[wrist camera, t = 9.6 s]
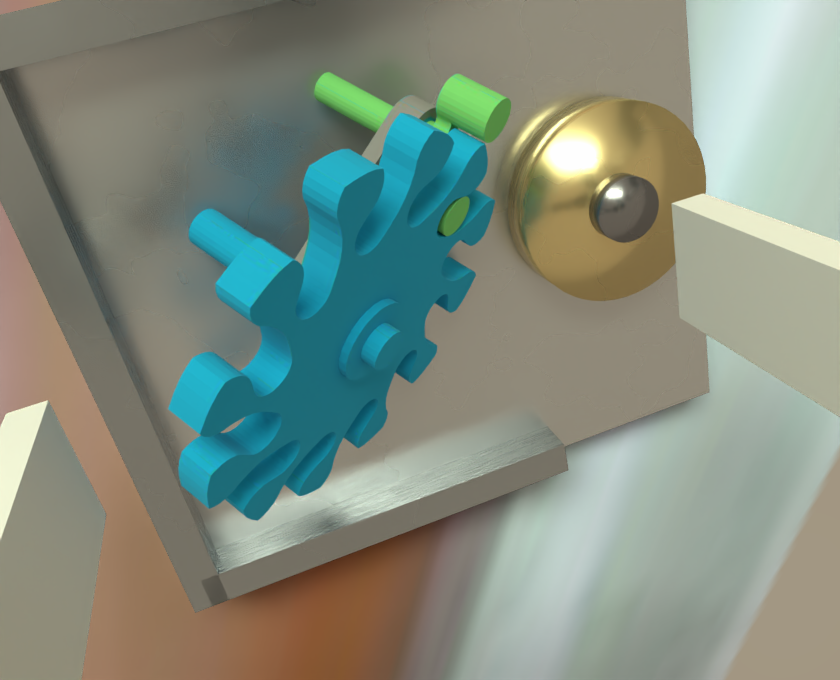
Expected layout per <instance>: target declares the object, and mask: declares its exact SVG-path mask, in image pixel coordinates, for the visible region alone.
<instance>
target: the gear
mask: <svg viewBox="0 0 840 680" xmlns="http://www.w3.org/2000/svg"><path fill="white" fill-rule="evenodd" d="M314 95H315V98H316V100H318V101H319V102H321V103H323V104H325V105H326V106H328V107H330V108H332V109H334V110H335V111H337V112H339V113H341V114H343V115H344V116H346V117H348V118H350V119H352V120H353V121H355V122H357V123H359V124H360V125H362V126H364V127H366V128H368V129H369V130H371V131H373V132H375V133H376V134H375V135H374V137H373V138H372V140H371V142H370V143H369V145H368V146H367V148H366V149H365V151H364V152H363V154H362V156H361V155H359V154H357V153H356V152H354V151H352V150H350V149H341V150H337V151H334V152H332V153H330V154H328V155H326V156H324V157H322V158H321V159H319V160H318V161H316V162H314V163H313V164H311V165H310V166H309V167H308V169H307V172H306V174H305V177H304V181H303V187H302V194H303V199H304V201H305V204H306V206H307V210H308V215H309V235H308V239H307V241H306V242H305V244H304V246H303V247H302V249H301V250H300V252H299V253H298V255H297V256H296V258H295V259H293V258H292V257H290V256H289V255H287V254H286V253H284V252H283V251H281V250H280V249H278V248H277V247H275V246H273V245H272V244H270V243H269V242H267V241H266V240H264V239H263V238H259V237H256V236H255V235H253V234H252V233H250V232H249V231H247V230H246V229H244V228H242V227H241V226H239V225H238V224H236V223H235V222H233V221H232V220H230V219H229V218H227V217H226V216H224V215H223V214H221V213H220V212H218V211H217V210H215V209H206V210H204V211H202V212H200V213H199V214H198V215H197V216H196V217H195V219H194V220H193V221H192V223H191V225H190V228H189V234H188V236H189V240H190V242H191V243H192V244H194V245H195V246H197V247H198V248H200V249H201V250H202V251H204V252H205V253H207V254H208V255H210V256H211V257H213V258H214V259H216V260H217V261H218V262H220V263H221V264H223V265H224V266H226V267H227V269H226V270H225V271H224V273H223V274H222V275H221V277H220V278H219V279H218V281H217V282H216V283H215V291H216V294H217V297H218V298H219V299H220V300H221V301H222V302H224V303H225V304H226V305H228V306H229V307H231V308H232V309H233V310H235V311H236V312H238V313H239V314H241V315H242V316H243V317H245V318H246V319H248V320H249V321H250V322H252V323H253V324H255V325H257V326H259V327H260V330H261V334H262V341H261V345H260V348H259V350H258V352H257V354H256V355H255V357H254V358H253V360H252V361H251V362H250V363H249V364H248V365H247V366H246V367H245V368H243V369H242V370H241V371H239V370H237V369H236V368H235V367H233V366H232V365H230V364H229V363H228V362H226V361H225V360H224V359H222V358H221V357H220V356H218V355H217V354H216V353H214V352H204V353H201V354H198V355H196V356H195V357H193V358H192V359H191V361H190V362H189V364H188V365H187V367H186V368H185V370H184V372H183V374H182V375H181V377H180V379H179V381H178V384H177V386H176V388H175V391H174V393H173V396H172V399H171V402H170V405H169V408H168V409H169V410H170V411H171V412H172V413H174V414H175V415H176V416H177V417H179V418H180V419H181V420H182V421H184V422H185V423H186V424H187V425H189V426H190V427H191V428H192V429H194V430H195V431H196V432H197V433H199V434H200V435H201V436H199V437H197V438H196V439H194V440H193V441H192V442H191V443H190V444H188V445H187V446H186V447H185V449H184V450H183V451H182V452H181V456H180V459H179V467H178V470H179V478H180V483H181V486H182V487H184V488H185V489H186V490H187V491H188V492H190V493H191V494H192V495H193V496H194V497H195V498H197V499H198V500H199V501H200V502H201V503H203V504H204V505H205V506H206V507H207V508H209V509H210V508H213V507H215V506H217V505H218V504H220V503H221V502H222V501H224V500H226V501H227V502H229V503H230V504H231V505H232V506H233V507H235V508H236V509H237V510H238V511H239V512H241V513H242V514H243V515H244V516H245V517H247V518H248V519H251V520H256V521H258V520H259V519H260V518H261V517H263V516H264V515H265V513H266V512H267V511H268V510H269V509H270V508H271V506H272V505H273V503H274V502H275V500H276V499H277V497H278V495H279V493H280V491H281V489H282V488H283V486H284V485H285V486H287V487H288V488H289V489H290V490H292V491H293V492H294V493H295V494H297V495H298V496H304V495H307V494H309V493H311V492H313V491H315V490H317V489H319V488H320V487H321V486H322V485H323V484H324V482H325V481H326V479H327V478H328V476H329V474H330V472H331V470H332V467H333V462H334V458H335V455H336V453H337V450H338V448H339V446H340V444H341V442H342V440H343V438H345V439H346V440H347V441H349V442H350V443H352V444H353V445H354V446H356V447H357V448H360V447H362V446H363V445H364V444H366V443H367V442H368V441H369V440H370V439H372V438H373V437H374V436H375V435H376V434H377V433H378V432H379V431H380V430H381V429H382V428H383V426H384V424H385V422H386V419H387V416H388V411H387V409H386V397H387V393H388V390H389V387H390V384H391V382H392V379H393V377H394V374H395V373H397V374H398V375H399V376H401V377H402V378H404V379H405V380H407V381H408V382H410V383H414V382H415V381H416V380H417V379H418V378H419V376H420V375H421V374H422V373H423V372H424V370H425V369H426V368H427V366H428V365H429V364H430V362H431V361H432V359H433V358H434V356H435V355H436V353H437V345H436V344H434V343H433V342H431V341H430V340H428V339H427V338H425V320H426V317H427V315H428V313H429V311H430V309H431V307H432V306H433V304H434V303H435V304H437V305H439V306H440V307H442V308H443V309H445V310H446V311H448V312H450V313H452V312H454V311H456V310H457V309H458V307H459V306H460V304H461V303H462V301H463V299H464V298H465V296H466V294H467V292H468V290H469V288H470V286H471V284H472V282H473V280H474V278H475V276H476V273H475V272H474V271H472V270H471V269H469V268H467V267H466V266H464V265H463V264H461V263H459V262H458V261H456V260H454V259H453V258H451V257H446V256H447V254H448V253H449V251H450V250H451V249H452V247H453V246H454V245H455V244H456V243H457V242H459V241H460V240H461V241H462V242H464V243H466V244H467V245H469V246H473V245H475V244H476V243H478V242H479V241H480V240H481V239H482V237H483V236H484V235H485V232H486V230H487V228H488V225H489V222H490V219H491V216H492V213H493V209H494V205H495V200H494V199H492V198H490V197H488V196H487V195H485V194H483V193H481V192H480V191H478V190H476V188H477V187H478V186H479V185H480V183H481V182H482V180H483V179H484V177H485V175H486V173H487V167H488V156H487V150H486V145H485V143H483V142H481V141H479V140H477V139H475V138H473V137H471V136H470V135H468V134H466V133H464V132H462V131H460V130H458V129H459V128H460V129H462V130H463V131H465V132H467V133H469V134H471V135H473V136H475V137H477V138H479V139H480V140H482V141H484V142H486V143H491V142H492V141H494V140H495V139H496V138H497V137H498V136H499V134H500V133H501V132H502V130H503V128H504V127H505V125H506V123H507V120H508V118H509V115H510V111H511V101H510V99H509V98H507V97H505V96H503V95H501V94H499V93H497V92H495V91H493V90H491V89H489V88H487V87H485V86H483V85H481V84H479V83H477V82H475V81H473V80H471V79H469V78H467V77H465V76H463V75H461V74H455V75H453V76H451V77H450V78H449V79H448V80H447V82H446V83H445V84H444V86H443V87H442V89H441V91H440V94H439V96H438V99H437V103H436V106H434V105H432V104H430V103H428V102H426V101H425V100H423V99H421V98H419V97H417V96H415V95H408V96H406V97H404V98H402V99H401V100H400V101H399V102H397V103H396V104H395V106H392V105H390V104H388V103H386V102H384V101H382V100H381V99H379V98H377V97H375V96H373V95H371V94H369V93H368V92H366V91H364V90H362V89H360V88H358V87H356V86H355V85H353V84H351V83H349V82H347V81H345V80H343V79H342V78H340V77H338V76H336V75H334V74H332V73H330V72H326V73H324V74H323V75H322V76H321V77H320V78H319V79H318V81H317V83H316V86H315V90H314ZM244 417H245V418H244ZM242 418H244V420H243V421H242V422H241V423H240V424H239V425H238V426H237V427H235V428H234V429H232V430H231V431H229V432H226V433H220V432H222V431H223V430H225V429H226V428H228V427H229V426H230V425H232V424H233V423H235V422H237V421H239V420H240V419H242Z"/></svg>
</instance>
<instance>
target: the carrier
mask: <svg viewBox="0 0 840 680" xmlns="http://www.w3.org/2000/svg"><path fill="white" fill-rule="evenodd" d="M326 72H330V73H332V74H334V75H336V76H338V77H340V78H342V79H343V80H345V81H347V82H349V83H351V84H353V85H355V86H356V87H358V88H360V89H362V90H364V91H366V92H368V93H369V94H371V95H373V96H375V97H377V98H379V99H381V100H382V101H384V102H386V103H388V104H390V105H392V106H395V104H396V103H397V102H399V101H400V100H401V99H402V98H404V97H406V96H408V95H415V96H417V97H419V98H421V99H423V100H425V101H426V102H428V103H430V104H432V105H434V106H436V103H437V99H438V96H439V94H440V91H441V89H442V87H443V86H444V84H445V83H446V82H447V80H448V79H449V78H450V77H451V76H453V75H455V74H461V75H463V76H465V77H467V78H469V79H471V80H473V81H475V82H477V83H479V84H481V85H483V86H485V87H487V88H489V89H491V90H493V91H495V92H497V93H499V94H501V95H503V96H505V97H507V98H509V99H510V101H511V111H510V115H509V118H508V120H507V123H506V125H505V127H504V128H503V130H502V132H501V133H500V134H499V136H498V137H497V138H496V139H495V140H494V141H492V142H491V143H486V142H484V141H482V140H480V139H479V138H477V137H475V136H473V135H471V134H469V133H467V132H465V131H463V130H462V129H460V128H459V129H458V130H460V131H462V132H464V133H466V134H468V135H470V136H471V137H473V138H475V139H477V140H479V141H481V142H483V143H485V145H486V150H487V156H488V167H487V173H486V175H485V177H484V179H483V180H482V182H481V183H480V185H479V186H478V187H477V188H476V190H478V191H480V192H481V193H483V194H485V195H487V196H488V197H490V198H492V199H494V200H495V205H494V209H493V213H492V216H491V219H490V222H489V225H488V228H487V230H486V232H485V235H484V236H483V237H482V239H481V240H480V241H479V242H478V243H476V244H475V245H473V246H469V245H467V244H466V243H464V242H462V241H461V240H460V241H459V242H457V243H456V244H455V245H454V246H453V247H452V249H451V250H450V251H449V253H448V254H447V256H446V257H451V258H453V259H454V260H456V261H458V262H459V263H461V264H463V265H464V266H466V267H467V268H469V269H471V270H472V271H474V272H475V273H476V276H475V278H474V280H473V282H472V284H471V286H470V288H469V290H468V292H467V294H466V296H465V298H464V299H463V301H462V303H461V304H460V306H459V307H458V309H457V310H456V311H454V312H452V313H450V312H448V311H446V310H445V309H443V308H442V307H440V306H439V305H437V304H435V303H434V304H433V306H432V307H431V309H430V311H429V313H428V315H427V317H426V320H425V338H427V339H428V340H430V341H431V342H433V343H434V344H436V345H437V353H436V355H435V356H434V358H433V359H432V361H431V362H430V364H429V365H428V366H427V368H426V369H425V370H424V372H423V373H422V374H421V375H420V376H419V378H418V379H417V380H416V381H415V382H414V383H410V382H408V381H407V380H405V379H404V378H402V377H401V376H399V375H398V374H397V373H395V374H394V377H393V379H392V382H391V384H390V387H389V390H388V393H387V397H386V409H387V411H388V416H387V419H386V422H385V424H384V426H383V428H382V429H381V430H380V431H379V432H378V433H377V434H376V435H375V436H374V437H373V438H372V439H370V440H369V441H368V442H367V443H366V444H364V445H363V446H362V447H360V448H357V447H356V446H354V445H353V444H352V443H350V442H349V441H347V440H346V439H345V438H343V440H342V442H341V444H340V446H339V448H338V450H337V453H336V455H335V458H334V462H333V467H332V470H331V472H330V474H329V476H328V478H327V479H326V481H325V482H324V484H323V485H322V486H321V487H320V488H319V489H317V490H315V491H313V492H311V493H309V494H307V495H304V496H298V495H297V494H295V493H294V492H293V491H292V490H290V489H289V488H288V487H287V486H285V485H284V486H283V488H282V489H281V491H280V493H279V495H278V497H277V499H276V500H275V502H274V503H273V505H272V506H271V508H270V509H269V510H268V511H267V512H266V513H265V515H264V516H263V517H261V518H260V519H259V520H258V521H256V520H251V519H248V518H247V517H245V516H244V515H243V514H242V513H241V512H239V511H238V510H237V509H236V508H235V507H233V506H232V505H231V504H230V503H229V502H227V501H226V500H224V501H222V502H221V503H220V504H218V505H217V506H215V507H213V508H210V509H209V508H207V507H206V506H205V505H204V504H203V503H201V502H200V501H199V500H198V499H197V498H195V497H194V496H193V495H192V494H191V493H190V492H188V491H187V490H186V489H185V488H184V487H182V486H181V483H180V478H179V470H178V467H179V459H180V456H181V452H182V451H183V450H184V449H185V447H186V446H187V445H188V444H190V443H191V442H192V441H193V440H194V439H196V438H197V437H199V436H201V435H200V434H199V433H197V432H196V431H195V430H194V429H192V428H191V427H190V426H189V425H187V424H186V423H185V422H184V421H182V420H181V419H180V418H179V417H177V416H176V415H175V414H174V413H172V412H171V411H170V410H169V409H168V408H169V405H170V402H171V399H172V396H173V393H174V391H175V388H176V386H177V384H178V381H179V379H180V377H181V375H182V374H183V372H184V370H185V368H186V367H187V365H188V364H189V362H190V361H191V359H192V358H193V357H195V356H196V355H198V354H201V353H204V352H214V353H216V354H217V355H218V356H220V357H221V358H222V359H224V360H225V361H226V362H228V363H229V364H230V365H232V366H233V367H235V368H236V369H237V370H239V371H241V370H242V369H243V368H245V367H246V366H247V365H248V364H249V363H250V362H251V361H252V360H253V358H254V357H255V355H256V354H257V352H258V350H259V348H260V345H261V341H262V334H261V330H260V327H259V326H257V325H255V324H253V323H252V322H250V321H249V320H248V319H246V318H245V317H243V316H242V315H241V314H239V313H238V312H236V311H235V310H233V309H232V308H231V307H229V306H228V305H226V304H225V303H224V302H222V301H221V300H220V299H219V298H218V297H217V294H216V291H215V283H216V282H217V281H218V279H219V278H220V277H221V275H222V274H223V273H224V271H225V270H226V269H227V267H226V266H224V265H223V264H221V263H220V262H218V261H217V260H216V259H214V258H213V257H211V256H210V255H208V254H207V253H205V252H204V251H202V250H201V249H200V248H198V247H197V246H195V245H194V244H192V243H191V242H190V240H189V236H188V234H189V228H190V225H191V223H192V221H193V220H194V219H195V217H196V216H197V215H198V214H199V213H200V212H202V211H204V210H206V209H215V210H217V211H218V212H220V213H221V214H223V215H224V216H226V217H227V218H229V219H230V220H232V221H233V222H235V223H236V224H238V225H239V226H241V227H242V228H244V229H246V230H247V231H249V232H250V233H252V234H253V235H255V236H256V237H259V238H263V239H264V240H266V241H267V242H269V243H270V244H272V245H273V246H275V247H277V248H278V249H280V250H281V251H283V252H284V253H286V254H287V255H289V256H290V257H292V258H293V259H295V258H296V256H297V255H298V253H299V252H300V250H301V249H302V247H303V246H304V244H305V242H306V241H307V239H308V235H309V215H308V210H307V206H306V204H305V201H304V199H303V194H302V187H303V181H304V177H305V174H306V172H307V169H308V167H309V166H310V165H311V164H313V163H314V162H316V161H318V160H319V159H321V158H322V157H324V156H326V155H328V154H330V153H332V152H334V151H337V150H341V149H350V150H352V151H354V152H356V153H357V154H359V155H361V156H362V154H363V152H364V151H365V149H366V148H367V146H368V145H369V143H370V142H371V140H372V138H373V137H374V135H375V134H376V133H375V132H373V131H371V130H369V129H368V128H366V127H364V126H362V125H360V124H359V123H357V122H355V121H353V120H352V119H350V118H348V117H346V116H344V115H343V114H341V113H339V112H337V111H335V110H334V109H332V108H330V107H328V106H326V105H325V104H323V103H321V102H319V101H318V100H316V98H315V95H314V90H315V86H316V83H317V81H318V79H319V78H320V77H321V76H322V75H323V74H324V73H326ZM705 192H706V175H705V166H704V162H703V158H702V153H701V151H700V148H699V146H698V143H697V141H696V139H695V138H694V131H693V115H692V99H691V82H690V66H689V49H688V33H687V17H686V0H61V1H57V2H53V3H49V4H44V5H40V6H36V7H32V8H27V9H23V10H19V11H15V12H10V13H6V14H2V15H0V201H1V203H2V206H3V208H4V210H5V212H6V214H7V216H8V218H9V220H10V222H11V225H12V227H13V229H14V231H15V233H16V235H17V237H18V239H19V241H20V244H21V246H22V248H23V250H24V252H25V254H26V256H27V258H28V260H29V263H30V265H31V267H32V269H33V271H34V273H35V275H36V277H37V279H38V282H39V284H40V286H41V288H42V290H43V292H44V294H45V296H46V298H47V301H48V303H49V305H50V307H51V309H52V311H53V313H54V315H55V317H56V320H57V322H58V324H59V326H60V328H61V330H62V332H63V334H64V336H65V339H66V341H67V343H68V345H69V347H70V349H71V351H72V353H73V355H74V358H75V360H76V362H77V364H78V366H79V368H80V370H81V372H82V374H83V377H84V379H85V381H86V383H87V385H88V387H89V389H90V391H91V393H92V396H93V398H94V400H95V402H96V404H97V406H98V408H99V410H100V412H101V415H102V417H103V419H104V421H105V423H106V425H107V427H108V429H109V431H110V434H111V436H112V438H113V440H114V442H115V444H116V446H117V448H118V450H119V453H120V455H121V457H122V459H123V461H124V463H125V465H126V467H127V469H128V472H129V474H130V476H131V478H132V480H133V482H134V484H135V486H136V488H137V491H138V493H139V495H140V497H141V499H142V501H143V503H144V505H145V507H146V510H147V512H148V514H149V516H150V518H151V520H152V522H153V524H154V526H155V529H156V531H157V533H158V535H159V537H160V539H161V541H162V543H163V545H164V548H165V550H166V552H167V554H168V556H169V558H170V560H171V562H172V564H173V567H174V569H175V571H176V573H177V575H178V577H179V579H180V581H181V583H182V586H183V588H184V590H185V592H186V594H187V596H188V598H189V600H190V602H191V605H192V607H193V609H194V611H195V613H196V612H199V611H201V610H204V609H206V608H209V607H212V606H214V605H217V604H220V603H222V602H225V601H227V600H230V599H233V598H235V597H238V596H240V595H243V594H246V593H248V592H251V591H254V590H256V589H259V588H261V587H264V586H267V585H269V584H272V583H274V582H277V581H280V580H282V579H285V578H288V577H290V576H293V575H295V574H298V573H301V572H303V571H306V570H308V569H311V568H314V567H316V566H319V565H322V564H324V563H327V562H329V561H332V560H335V559H337V558H340V557H342V556H345V555H348V554H350V553H353V552H356V551H358V550H361V549H363V548H366V547H369V546H371V545H374V544H376V543H379V542H382V541H384V540H387V539H390V538H392V537H395V536H397V535H400V534H403V533H405V532H408V531H410V530H413V529H416V528H418V527H421V526H424V525H426V524H429V523H431V522H434V521H437V520H439V519H442V518H444V517H447V516H450V515H452V514H455V513H458V512H460V511H463V510H465V509H468V508H471V507H473V506H476V505H479V504H481V503H484V502H486V501H489V500H492V499H494V498H497V497H499V496H502V495H505V494H507V493H510V492H513V491H515V490H518V489H520V488H523V487H526V486H528V485H531V484H533V483H536V482H539V481H541V480H544V479H547V478H549V477H552V476H554V475H557V474H560V473H562V472H565V471H567V470H568V465H567V459H566V453H565V446H567V445H570V444H573V443H575V442H578V441H581V440H583V439H586V438H589V437H591V436H594V435H597V434H599V433H602V432H605V431H607V430H610V429H613V428H615V427H618V426H620V425H623V424H626V423H628V422H631V421H634V420H636V419H639V418H642V417H644V416H647V415H650V414H652V413H655V412H658V411H660V410H663V409H666V408H668V407H671V406H674V405H676V404H679V403H682V402H684V401H687V400H690V399H692V398H695V397H698V396H700V395H703V394H706V393H708V392H709V377H708V361H707V344H706V334H705V333H704V332H702V331H700V330H699V329H697V328H696V327H694V326H692V325H691V324H689V323H688V322H686V321H684V320H683V319H681V318H680V316H679V302H678V287H677V273H676V259H675V245H674V231H673V217H672V203H674V202H677V201H681V200H684V199H687V198H690V197H693V196H696V195H700V194H705ZM244 418H245V417H244ZM244 418H242V419H240V420H239V421H237V422H235V423H233V424H232V425H230V426H229V427H228V428H226V429H225V430H223V431H222V432H220V433H226V432H229V431H231V430H232V429H234V428H235V427H237V426H238V425H239V424H240V423H241V422H242V421H243V420H244Z"/></svg>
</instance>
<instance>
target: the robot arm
mask: <svg viewBox="0 0 840 680" xmlns="http://www.w3.org/2000/svg"><path fill="white" fill-rule="evenodd" d="M672 217H673V231H674V245H675V259H676V273H677V287H678V302H679V316H680V318H681V319H683V320H684V321H686V322H688V323H689V324H691V325H692V326H694V327H696V328H697V329H699V330H700V331H702V332H704V333H705V334H707V335H708V336H710V337H712V338H713V339H715V340H717V341H718V342H720V343H721V344H723V345H725V346H726V347H728V348H729V349H731V350H733V351H734V352H736V353H737V354H739V355H741V356H742V357H744V358H746V359H747V360H749V361H750V362H752V363H754V364H755V365H757V366H758V367H760V368H762V369H763V370H765V371H766V372H768V373H770V374H771V375H773V376H774V377H776V378H778V379H779V380H781V381H783V382H784V383H786V384H787V385H789V386H791V387H792V388H794V389H795V390H797V391H799V392H800V393H802V394H803V395H805V396H807V397H808V398H810V399H812V400H813V401H815V402H816V403H818V404H820V405H821V406H823V407H824V408H826V409H828V410H829V411H831V412H832V413H834V414H836V415H837V416H839V417H840V242H839V241H836V240H833V239H830V238H827V237H825V236H822V235H819V234H816V233H813V232H811V231H808V230H805V229H802V228H799V227H796V226H794V225H791V224H788V223H785V222H782V221H780V220H777V219H774V218H771V217H768V216H765V215H763V214H760V213H757V212H754V211H751V210H749V209H746V208H743V207H740V206H737V205H734V204H732V203H729V202H726V201H723V200H720V199H718V198H715V197H712V196H709V195H706V194H700V195H696V196H693V197H690V198H687V199H684V200H681V201H677V202H674V203H672ZM105 519H106V513H105V511H104V509H103V507H102V505H101V503H100V501H99V499H98V497H97V495H96V493H95V491H94V489H93V487H92V485H91V483H90V481H89V479H88V477H87V476H86V474H85V472H84V470H83V468H82V466H81V464H80V462H79V460H78V458H77V456H76V454H75V452H74V450H73V448H72V446H71V444H70V442H69V440H68V438H67V436H66V434H65V432H64V430H63V428H62V426H61V424H60V422H59V421H58V419H57V417H56V415H55V413H54V411H53V409H52V407H51V405H50V403H49V401H45V402H41V403H38V404H35V405H32V406H29V407H26V408H22V409H19V410H16V411H13V412H10V413H7V414H6V415H5V418H4V420H3V422H2V424H1V427H0V680H81V679H82V672H83V666H84V659H85V653H86V646H87V639H88V633H89V626H90V619H91V613H92V606H93V599H94V593H95V586H96V579H97V573H98V566H99V559H100V553H101V546H102V539H103V533H104V526H105Z"/></svg>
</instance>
